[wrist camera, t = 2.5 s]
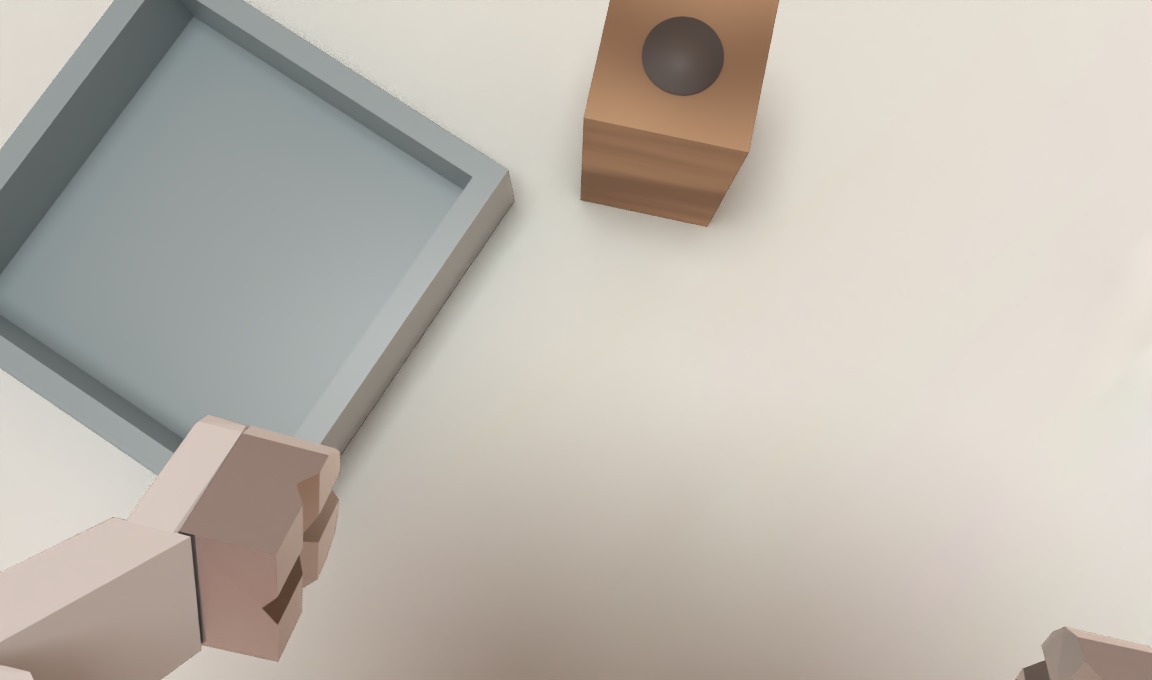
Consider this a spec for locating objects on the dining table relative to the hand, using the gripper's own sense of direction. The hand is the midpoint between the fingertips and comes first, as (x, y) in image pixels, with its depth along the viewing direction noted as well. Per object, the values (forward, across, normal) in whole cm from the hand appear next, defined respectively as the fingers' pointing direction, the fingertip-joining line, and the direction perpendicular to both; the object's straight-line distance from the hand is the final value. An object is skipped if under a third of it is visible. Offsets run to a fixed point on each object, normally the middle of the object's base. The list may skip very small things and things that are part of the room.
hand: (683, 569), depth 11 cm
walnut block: (+24, +1, +7) cm, 25 cm away
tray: (+19, +14, +12) cm, 27 cm away
